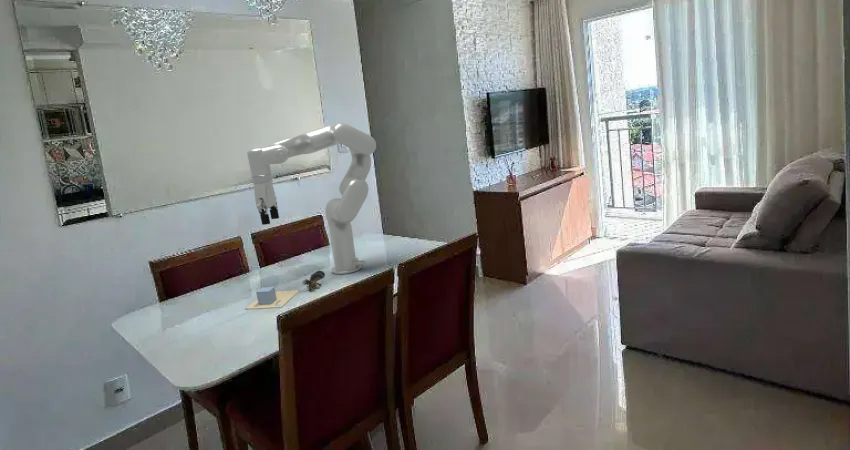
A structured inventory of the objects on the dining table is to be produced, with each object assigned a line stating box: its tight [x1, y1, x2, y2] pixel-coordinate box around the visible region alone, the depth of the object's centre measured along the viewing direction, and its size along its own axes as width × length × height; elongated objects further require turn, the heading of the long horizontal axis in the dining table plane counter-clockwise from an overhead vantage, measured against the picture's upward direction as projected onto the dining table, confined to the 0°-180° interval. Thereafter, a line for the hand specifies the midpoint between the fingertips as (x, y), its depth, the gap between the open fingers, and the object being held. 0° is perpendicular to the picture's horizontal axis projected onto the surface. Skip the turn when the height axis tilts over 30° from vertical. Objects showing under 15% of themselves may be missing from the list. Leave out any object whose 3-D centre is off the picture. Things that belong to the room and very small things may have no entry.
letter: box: [245, 289, 300, 310], centre depth 208 cm, size 14×18×1 cm
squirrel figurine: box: [301, 270, 326, 292], centre depth 217 cm, size 8×7×9 cm
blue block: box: [255, 286, 277, 305], centre depth 205 cm, size 5×5×5 cm
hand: (270, 221), depth 219 cm, fingers open, 9 cm apart
